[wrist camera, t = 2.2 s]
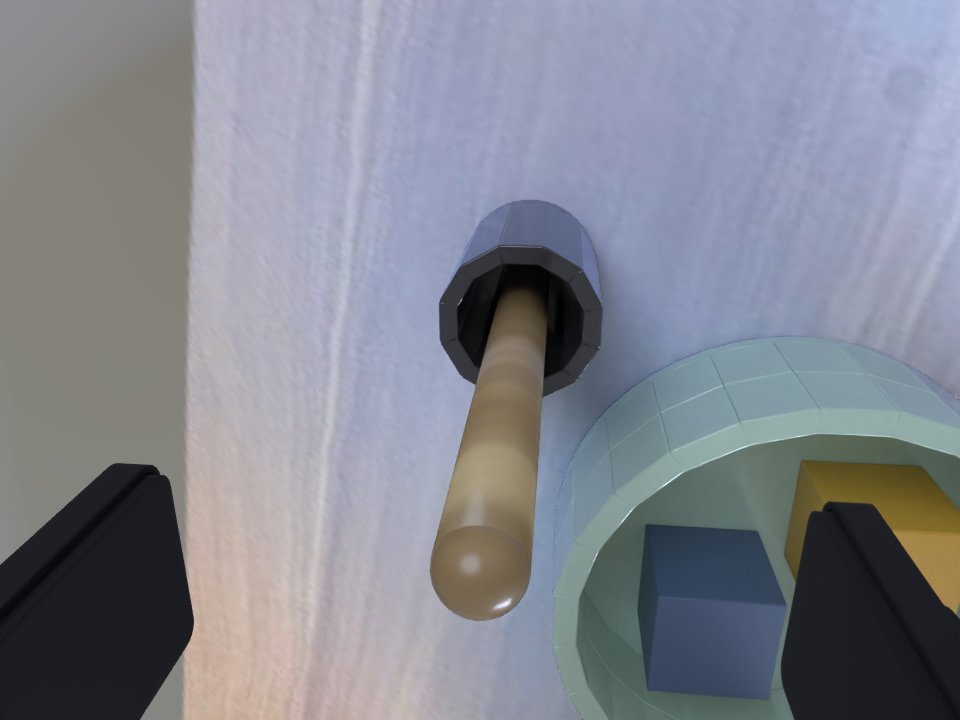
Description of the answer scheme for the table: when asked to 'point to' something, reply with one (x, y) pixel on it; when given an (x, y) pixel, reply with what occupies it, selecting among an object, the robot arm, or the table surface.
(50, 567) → the robot arm
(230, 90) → the table surface
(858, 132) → the table surface
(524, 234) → the holder
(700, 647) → the block
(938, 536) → the block
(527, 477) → the stick
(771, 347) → the bowl
